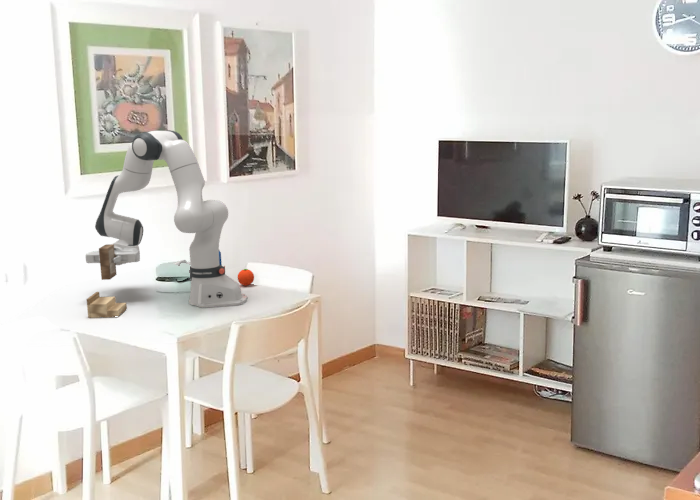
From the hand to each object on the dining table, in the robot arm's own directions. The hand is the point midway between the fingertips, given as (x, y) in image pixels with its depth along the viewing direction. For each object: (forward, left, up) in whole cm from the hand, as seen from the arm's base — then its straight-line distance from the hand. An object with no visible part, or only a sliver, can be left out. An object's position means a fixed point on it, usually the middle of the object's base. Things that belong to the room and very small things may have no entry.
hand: (107, 260), depth 303 cm
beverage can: (-32, -47, -18) cm, 59 cm away
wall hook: (-22, -41, -18) cm, 50 cm away
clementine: (-48, -30, -18) cm, 59 cm away
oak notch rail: (-2, +10, -18) cm, 21 cm away
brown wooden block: (0, -1, -6) cm, 7 cm away
